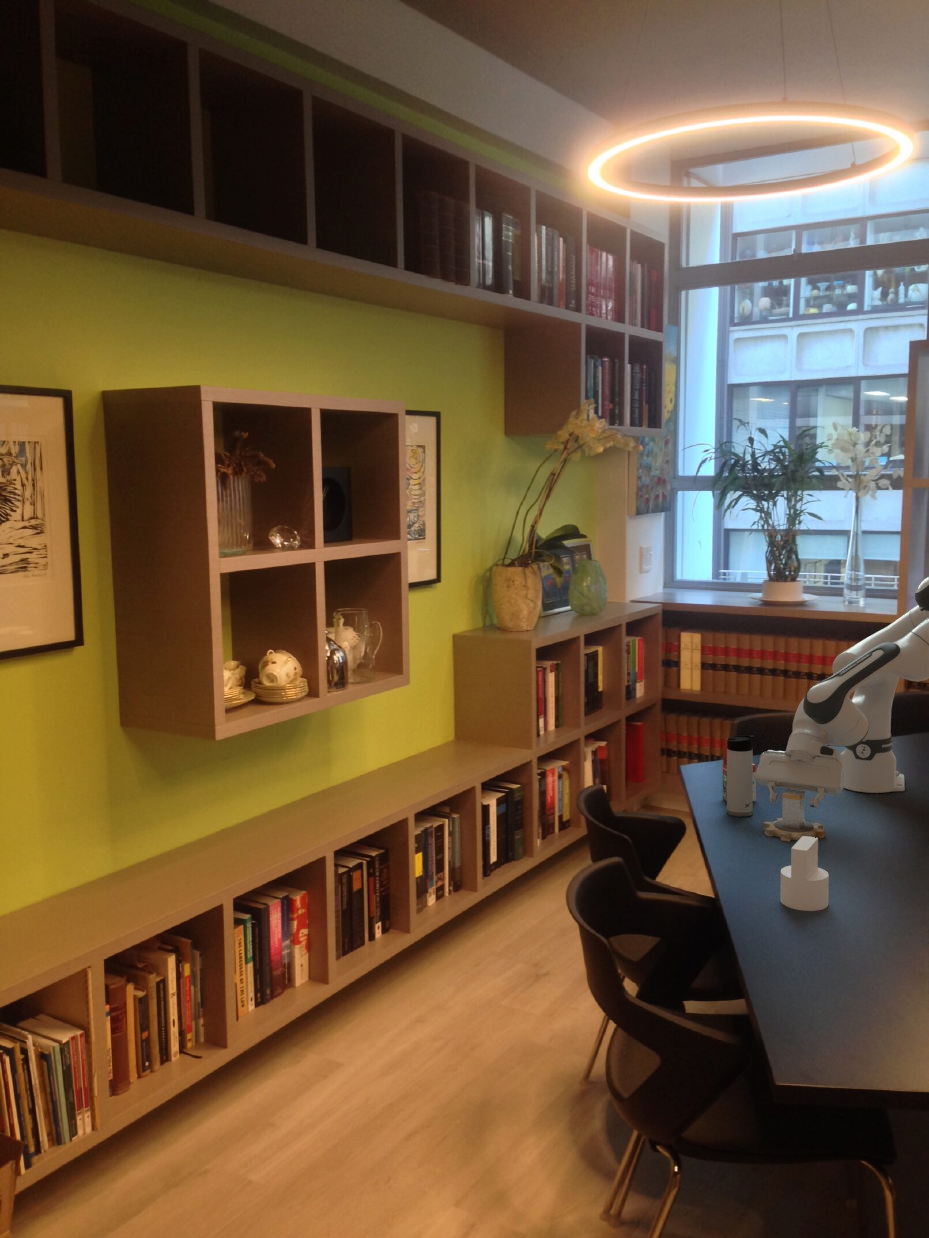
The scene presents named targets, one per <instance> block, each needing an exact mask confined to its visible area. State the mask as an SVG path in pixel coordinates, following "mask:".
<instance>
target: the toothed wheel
mask: <svg viewBox="0 0 929 1238" xmlns="http://www.w3.org/2000/svg"><path fill="white" fill-rule="evenodd" d="M762 825H763V828H762V829H763V830H764V835H766V836H767V837H776V838H780V841H784V842H788V843H789V842H791V841H798V840H799V839H800V838H801V837H802V836H809V837H816V838H818V839H824V838H825V837H826V829H824V824H821V823H820V822H810V821H807V819H806V818H804V825H803V826H802V827H801V828H800V829H797V828H790V827H784V826H782V817H776V818H775V821H766V820H765V822H763V823H762ZM824 836H825V837H824Z"/></svg>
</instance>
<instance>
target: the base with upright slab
mask: <svg viewBox="0 0 929 1238" xmlns="http://www.w3.org/2000/svg"><path fill="white" fill-rule="evenodd" d="M818 854H819V838H817V837H816V838H815V837H809V836H802V837H801V838H800V839H799V840H797V841H796V843H794V845H792V847H791V850H790V859H791V860H790V865H787V866H783V867H782V868H781V869H780V890H779V891H780V902H781V904H782V905H784V906H786V907H787V908H789V909H793V910H796V911H806V912H815V911H820V910H824V909H826V908H827V907H828V906H829V892H830V891H829V889H830V888H829V886H830V885H829V881H830V877H829V875H830V874H829V872H828V871H826V870H825V869H823V868H820V867H819V865H818V864H819V855H818Z"/></svg>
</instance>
